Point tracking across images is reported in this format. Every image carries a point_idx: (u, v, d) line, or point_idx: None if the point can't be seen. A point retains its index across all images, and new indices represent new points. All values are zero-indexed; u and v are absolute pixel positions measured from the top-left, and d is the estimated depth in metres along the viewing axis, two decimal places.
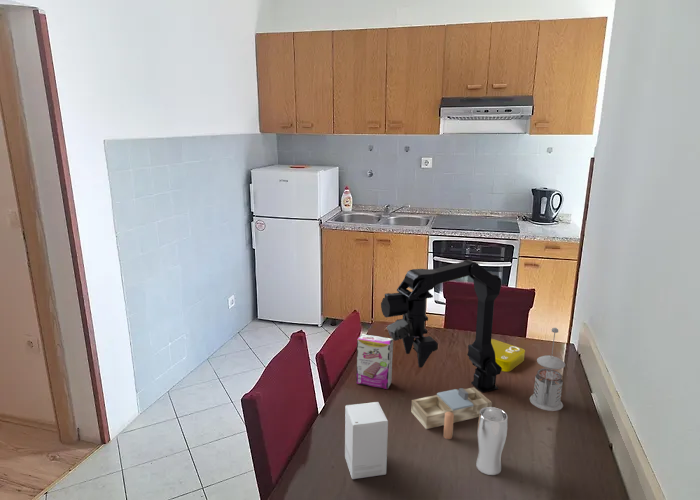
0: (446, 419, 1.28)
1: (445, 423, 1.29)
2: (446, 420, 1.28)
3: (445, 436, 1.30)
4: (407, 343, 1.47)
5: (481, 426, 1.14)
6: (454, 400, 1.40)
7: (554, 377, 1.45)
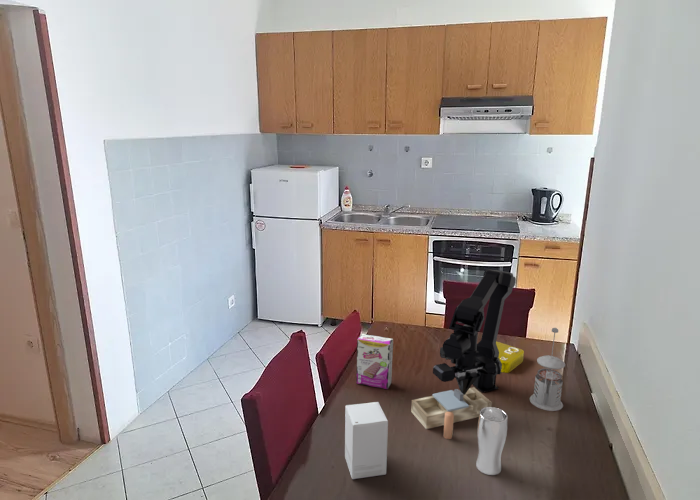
0: (446, 419, 1.28)
1: (445, 423, 1.29)
2: (446, 420, 1.28)
3: (445, 436, 1.30)
4: None
5: (481, 426, 1.14)
6: (449, 401, 1.39)
7: (554, 377, 1.45)
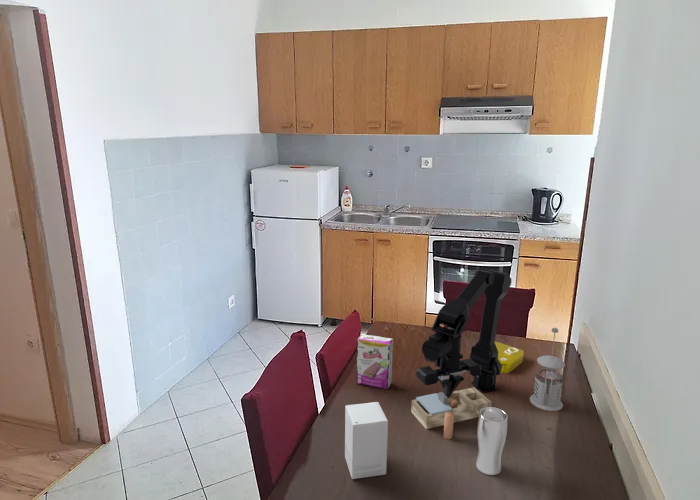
0: (446, 419, 1.28)
1: (445, 423, 1.29)
2: (446, 420, 1.28)
3: (445, 436, 1.30)
4: None
5: (481, 426, 1.14)
6: (433, 404, 1.37)
7: (554, 377, 1.45)
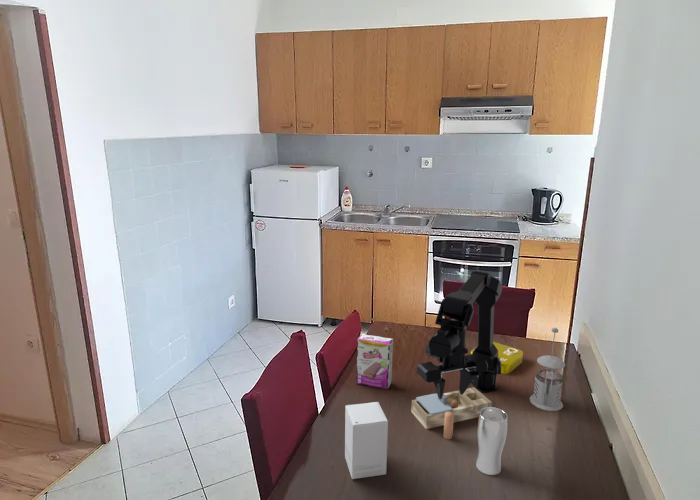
0: (446, 419, 1.28)
1: (445, 423, 1.29)
2: (446, 420, 1.28)
3: (445, 436, 1.30)
4: (462, 382, 1.28)
5: (481, 426, 1.14)
6: (433, 405, 1.37)
7: (554, 377, 1.45)
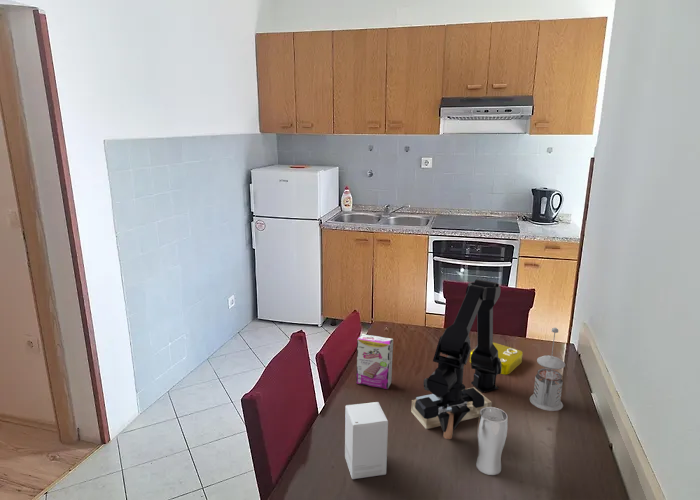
0: None
1: None
2: None
3: (445, 436, 1.30)
4: None
5: (481, 426, 1.14)
6: None
7: (554, 377, 1.45)
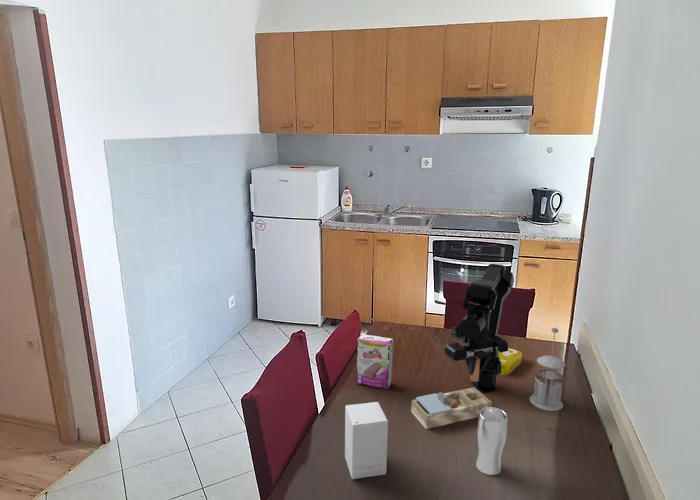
0: None
1: None
2: None
3: (472, 379, 1.41)
4: None
5: (481, 426, 1.14)
6: (433, 405, 1.37)
7: (554, 377, 1.45)
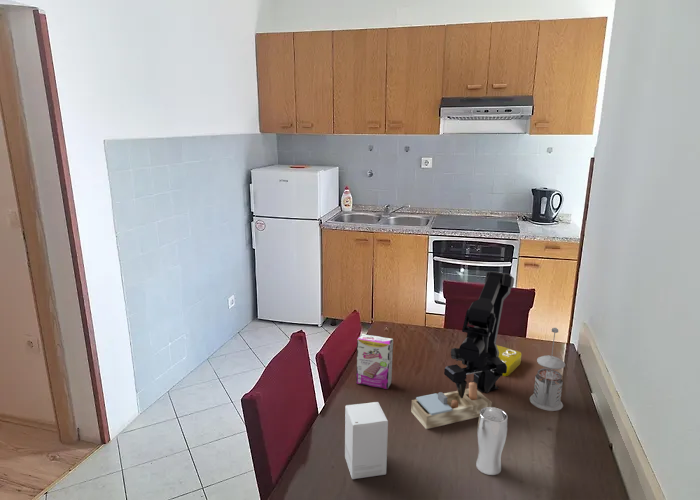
0: (470, 389, 1.42)
1: (470, 392, 1.43)
2: (470, 389, 1.42)
3: None
4: (487, 381, 1.44)
5: (481, 426, 1.14)
6: (433, 405, 1.37)
7: (554, 377, 1.45)
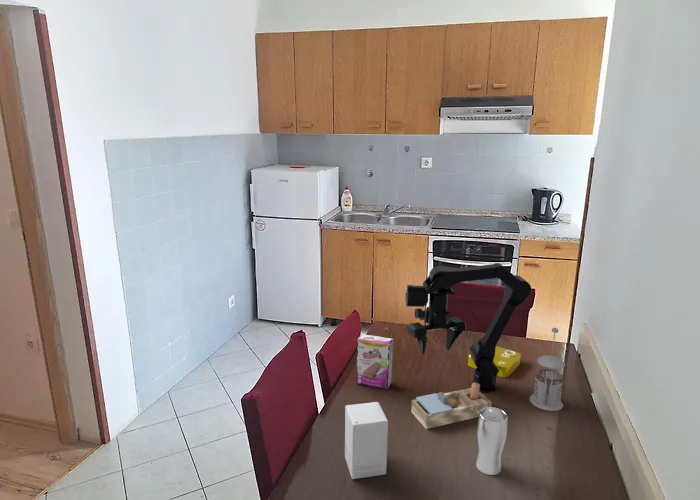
0: (472, 389, 1.42)
1: (472, 392, 1.42)
2: (473, 390, 1.42)
3: None
4: (448, 339, 1.54)
5: (481, 426, 1.14)
6: (433, 405, 1.37)
7: (554, 377, 1.45)
